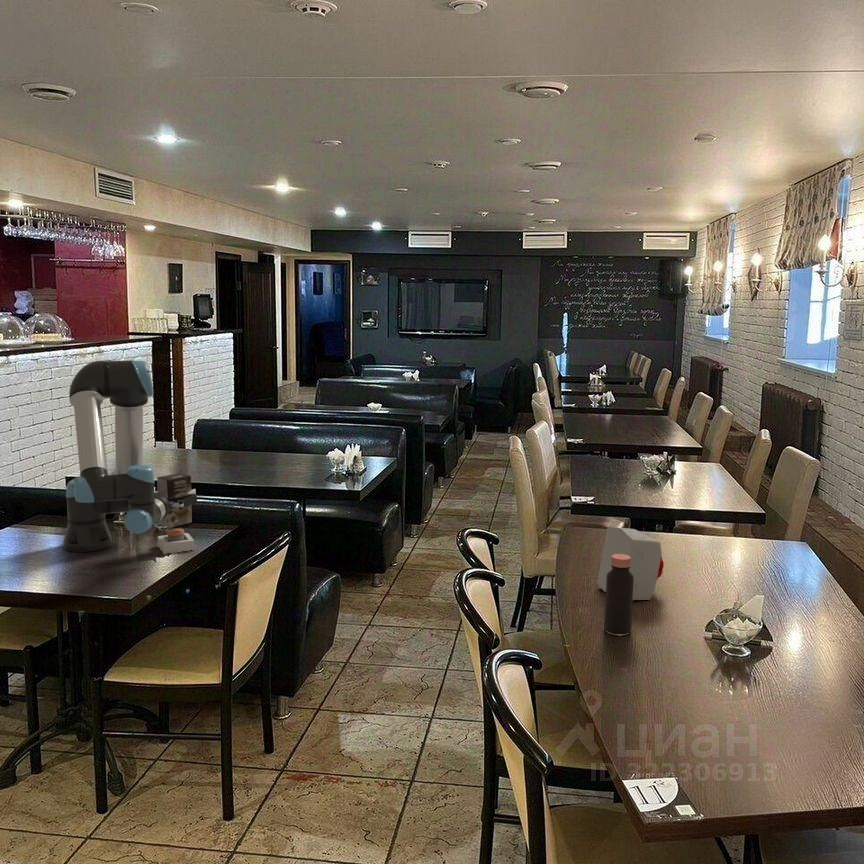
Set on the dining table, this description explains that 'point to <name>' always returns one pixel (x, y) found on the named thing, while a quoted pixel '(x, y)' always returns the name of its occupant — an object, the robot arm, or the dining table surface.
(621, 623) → the bottle
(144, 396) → the robot arm
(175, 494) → the coffee box
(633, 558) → the electrical switch box
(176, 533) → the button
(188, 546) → the breaker housing
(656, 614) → the dining table surface
